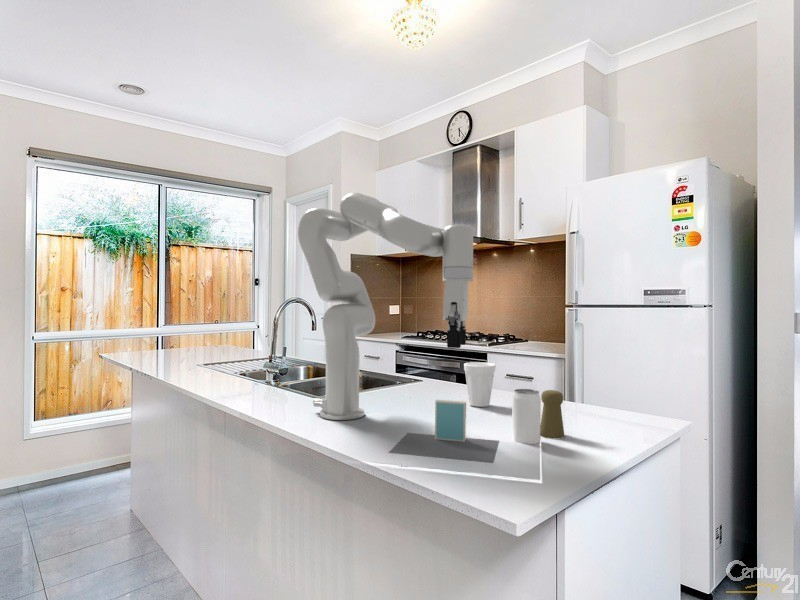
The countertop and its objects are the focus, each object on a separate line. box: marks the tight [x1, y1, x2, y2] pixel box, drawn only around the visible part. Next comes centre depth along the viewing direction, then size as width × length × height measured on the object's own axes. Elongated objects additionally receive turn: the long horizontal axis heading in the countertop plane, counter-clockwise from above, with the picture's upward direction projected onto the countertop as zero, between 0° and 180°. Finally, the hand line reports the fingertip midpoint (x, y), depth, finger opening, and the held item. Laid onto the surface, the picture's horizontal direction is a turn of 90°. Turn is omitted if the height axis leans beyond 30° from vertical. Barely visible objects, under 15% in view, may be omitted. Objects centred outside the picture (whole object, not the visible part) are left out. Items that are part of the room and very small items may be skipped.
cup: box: [463, 361, 496, 408], centre depth 154 cm, size 10×10×13 cm
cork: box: [540, 389, 565, 439], centre depth 121 cm, size 6×6×11 cm
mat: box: [388, 432, 500, 464], centre depth 109 cm, size 22×16×1 cm
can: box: [511, 388, 542, 445], centre depth 115 cm, size 6×6×12 cm
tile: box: [434, 399, 467, 442], centre depth 114 cm, size 7×2×9 cm, turn 74°
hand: (456, 345), depth 121 cm, fingers open, 7 cm apart
